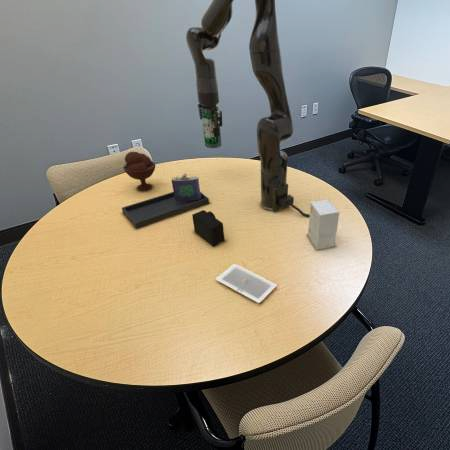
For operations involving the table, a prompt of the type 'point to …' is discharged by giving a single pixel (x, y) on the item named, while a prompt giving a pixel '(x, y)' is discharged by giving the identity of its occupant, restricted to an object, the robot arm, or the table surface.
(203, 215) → the digital camera
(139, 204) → the tray
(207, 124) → the can
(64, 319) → the table surface
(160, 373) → the table surface
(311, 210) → the small box
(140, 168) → the ice cream bowl
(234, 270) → the touchpad
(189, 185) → the flask
